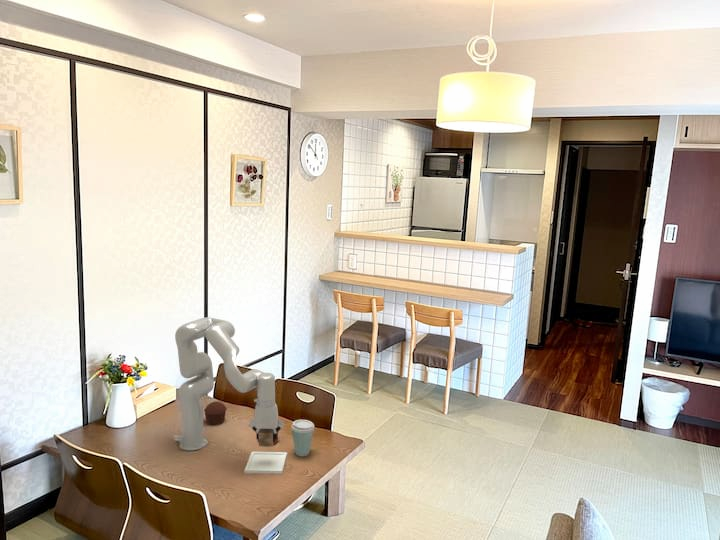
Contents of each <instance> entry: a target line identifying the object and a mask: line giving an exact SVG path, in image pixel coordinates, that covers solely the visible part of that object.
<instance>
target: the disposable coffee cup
mask: <svg viewBox="0 0 720 540" xmlns="http://www.w3.org/2000/svg"><path fill="white" fill-rule="evenodd" d="M290 429H291V432H292V440H293V446H294V449H293V450H294V454H295V455H296V456H298V457H306V456H307V457H308V455H309V454H310V451H311V445H312V440H313V436H314V435H313V434H314V430H315V424H314V422H312V421H310V420H308V419H296V420H294V421H292V424H291V427H290Z"/></svg>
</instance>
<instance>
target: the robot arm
mask: <svg viewBox="0 0 720 540" xmlns="http://www.w3.org/2000/svg"><path fill="white" fill-rule="evenodd" d="M235 332H236V328H235V327H234V325H233V324H232V322H229V321H228V320H225V319H220V318H214V317H209V316H208V317H207V316H205V317H201V318H198V319H195V320H192V321H188V322H187V323H183V324H182V325H181V326H179V327H178V328H177V329H176V331H175V334H174V336H175V337H174V338H175V339H174V340H175V343H176V347H177V355H178V366H179V372H180V375H181V376H182V377H183V378H185V379H188V380H186V381H185V382H183V383H181V385H180V386H179V389H178V396H179V400H180V407H181V428H182V429H181V430H182V434H181V435H180V434H179V435H178V434H175V435H173V440H174V442H179V444H178V445H179V446H178V447H179V448H180V449H181V450H182V451H188V452H189V451H190V452H193V451H198V450H201V449H203V448H205V447H206V446H207V445H208V440H207V438H205V436H204V406H203V404H202V403H201V400H200V398H202V397H204V396H206V395H208V394H209V393H211V391H213V389H214V386H215V379H214V371H213V370H214V369H213V362H212V358H211V357H210V356H209V354H207V353H206V352H204V351H200V352H198V346H197V344H196V342H195V341H197V340H199V339H202V338H206V340H207V341H208V343H209V344H210V346H211V347H212V348H213V349H214V350H215V352H216V353H217V354H218V356H220V359H222V360H223V369H224V373H225V377H226V379H227V381H228V382H229V383H230V384H231V385H232V387H233V388H234V389H235V390H236V391H237V392H239V393H242V394H244V393H247V392H251V390H253V389H255V388H256V390H257V393H256V395H257V398H254V399H253V403H256V404H255V406H254V407H255V408H254V417H253V419H251V421H250V422H249V423H248V427H250V429H252V431H254V432H255V434H256V436H255V437H256V440H257V443H259V431H260V429H273V431H274V433H273V442H275V440H277V432H278V433H279V431H281V430H282V428H283V427H285V423H284V422H283V421H282V420H281V419H280V418H279V411H278V405H277V403H276V378H275V377H276V376H275V375H274V374H273V373H271V372H264V371H262V370H261V369H255V368H253V369H250V370H248V371H246V372H245V373H242V372H241V371H240V369H239V368H238V366H237V362H236V360H237V357H238V354H239V353H240V347H239V345H237V344H236V343H235V341H234V340H233V337H234V336H235ZM277 426H278V427H277Z"/></svg>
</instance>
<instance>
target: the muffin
mask: <svg viewBox="0 0 720 540" xmlns="http://www.w3.org/2000/svg"><path fill="white" fill-rule="evenodd" d="M227 410H228V408H227V407H226V405H225V404H224V403H223V402H220V401H212V402H209V404H207V405H206V406H205V408H204V409H203V412H204V415H205V421H206V424H208V425H209V426H219V425H221V424H223V423H224V422H225V419H226V412H227Z"/></svg>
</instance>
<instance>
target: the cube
mask: <svg viewBox="0 0 720 540" xmlns="http://www.w3.org/2000/svg"><path fill="white" fill-rule="evenodd" d="M273 433H274V431H273V429H260V431H259V442H258V446H259V447H273V446H274V442H273Z"/></svg>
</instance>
